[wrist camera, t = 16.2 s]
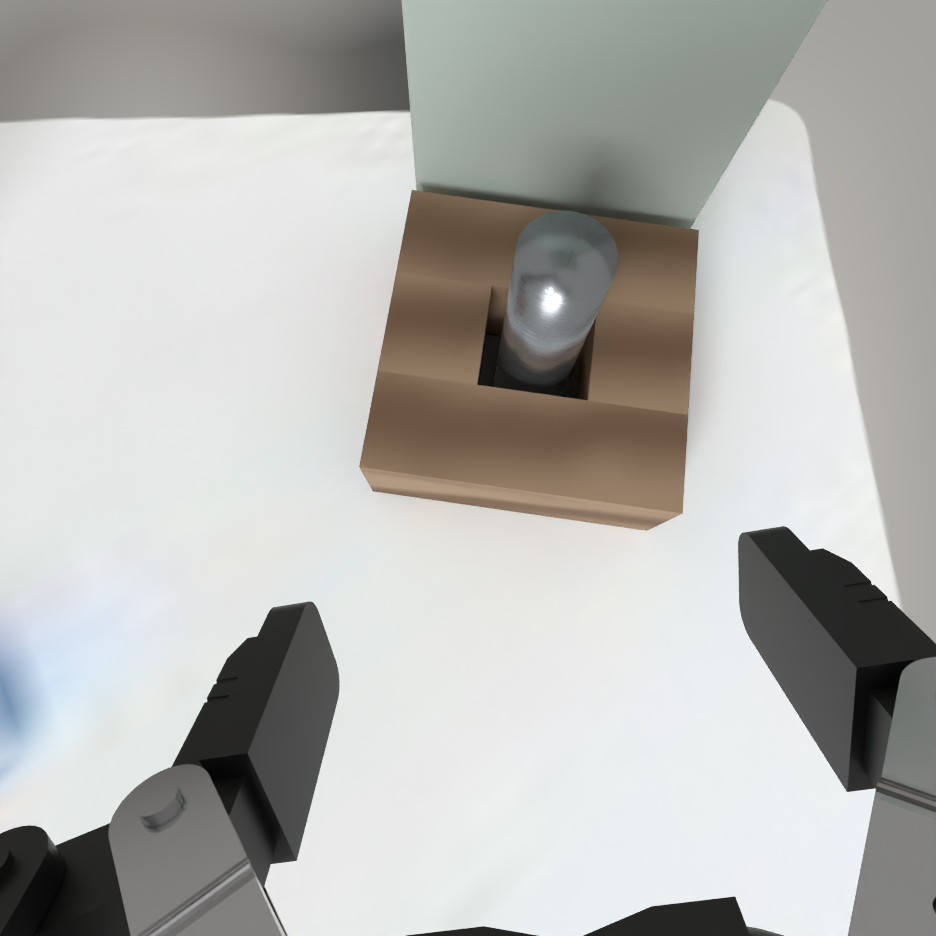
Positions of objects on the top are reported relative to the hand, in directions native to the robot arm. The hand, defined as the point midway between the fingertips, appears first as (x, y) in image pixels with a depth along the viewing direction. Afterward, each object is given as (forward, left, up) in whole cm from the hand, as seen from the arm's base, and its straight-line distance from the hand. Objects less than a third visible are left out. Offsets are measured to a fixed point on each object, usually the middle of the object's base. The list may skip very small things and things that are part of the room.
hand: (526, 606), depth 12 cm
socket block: (+8, +10, -19) cm, 23 cm away
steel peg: (+8, +10, -19) cm, 23 cm away
